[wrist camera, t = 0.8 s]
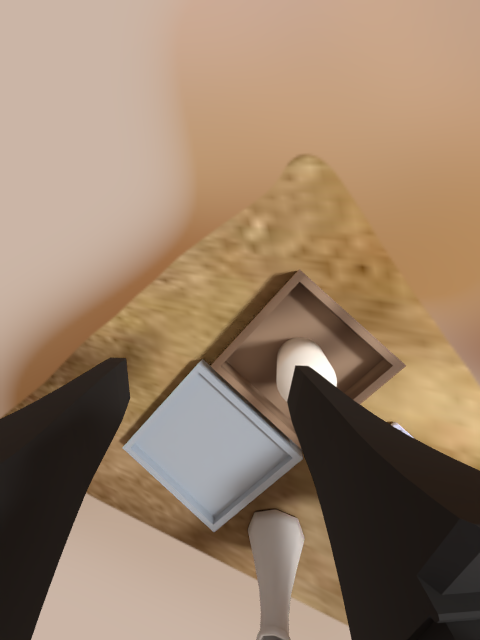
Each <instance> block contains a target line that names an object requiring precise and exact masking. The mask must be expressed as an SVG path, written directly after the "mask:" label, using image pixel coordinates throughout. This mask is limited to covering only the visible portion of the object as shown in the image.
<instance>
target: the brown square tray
mask: <svg viewBox="0 0 480 640" xmlns="http://www.w3.org/2000/svg"><path fill="white" fill-rule="evenodd" d="M296 337H304V338H308V339H310V340H312V341H314V342H315V343H316V344H317V345H318V346H319V347H320V348H321V350H322V352H323V353H324V355H325V356H326V358H327V360H328V361H329V363H330V365H331V366H332V368H333V370H334V371H335V374H336V378H337V386H336V387H337V388H338V389H339V390H341V391H342V392H343V393H345V394H346V395H347V396H349V397H350V398H351V399H353V400H354V401H355V402H357V403H358V404H361V403H362V402H363V401H365V400H366V399H367V398H368V397H369V396H371V395H372V394H373V393H374V392H375V391H377V390H378V389H379V388H380V387H381V386H383V385H384V384H385V383H386V382H387V381H389V380H390V379H391V378H392V377H393V376H395V375H396V374H397V373H398V372H399V371H401V370H402V369H403V368H404V367H405V366H406V365H405V364H404V363H403V362H402V361H400V360H399V359H398V358H397V357H396V356H395V355H394V354H393V353H392V352H390V351H389V350H388V349H387V348H386V347H385V346H384V345H383V344H382V343H380V342H379V341H378V340H377V339H376V338H375V337H374V336H373V335H372V334H370V333H369V332H368V331H367V330H366V329H365V328H364V327H363V326H362V325H361V324H359V323H358V322H357V321H356V320H355V319H354V318H353V317H352V316H351V315H349V314H348V313H347V312H346V311H345V310H344V309H343V308H342V307H341V306H339V305H338V304H337V303H336V302H335V301H334V300H333V299H332V298H331V297H329V296H328V295H327V294H326V293H325V292H324V291H323V290H322V289H321V288H320V287H318V286H317V285H316V284H315V283H314V282H313V281H312V280H311V279H310V278H308V277H307V276H306V275H305V274H304V273H303V272H302V271H301V270H298V271H297V272H296V273H295V274H294V275H293V276H292V277H291V278H290V279H289V280H288V282H287V283H286V284H285V285H284V286H283V287H282V288H281V289H280V290H279V291H278V292H277V293H276V295H275V296H274V297H273V298H272V299H271V300H270V301H269V302H268V303H267V304H266V305H265V307H264V308H263V309H262V310H261V311H260V312H259V313H258V314H257V315H256V316H255V317H254V318H253V320H252V321H251V322H250V323H249V324H248V325H247V326H246V327H245V328H244V329H243V330H242V331H241V333H240V334H239V335H238V336H237V337H236V338H235V339H234V340H233V341H232V342H231V343H230V345H229V346H228V347H227V348H226V349H225V350H224V351H223V352H222V353H221V354H220V355H219V356H218V358H217V359H216V360H215V361H214V362H213V364H212V365H211V367H212V368H213V369H214V370H215V371H216V372H217V373H218V374H219V375H221V376H222V377H223V378H224V379H225V380H226V381H227V382H228V383H229V384H230V385H231V386H233V387H234V388H235V389H236V390H237V391H238V392H239V393H240V394H241V395H242V396H244V397H245V398H246V399H247V400H248V401H249V402H250V403H251V404H252V405H253V406H254V407H256V408H257V409H258V410H259V411H260V412H261V413H262V414H263V415H264V416H265V417H266V418H268V419H269V420H270V421H271V422H272V423H273V424H274V425H275V426H276V427H277V428H279V429H280V430H281V431H282V432H283V433H284V434H285V435H286V436H287V437H288V438H289V439H291V440H292V441H293V442H294V443H295V444H296V445H297V446H298V447H299V448H300V449H301V446H300V443H299V441H298V438H297V435H296V433H295V430H294V427H293V424H292V421H291V417H290V412H289V408H288V403H287V402H286V401H285V400H284V399H283V397H282V396H281V395H280V393H279V391H278V388H277V382H276V380H277V354H278V351H279V349H280V347H281V346H282V345H283V344H284V343H285V342H286V341H288V340H290V339H292V338H296Z"/></svg>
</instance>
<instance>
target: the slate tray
mask: <svg viewBox="0 0 480 640" xmlns="http://www.w3.org/2000/svg"><path fill="white" fill-rule="evenodd" d="M122 448H123V449H124V450H125V451H126V452H128V453H129V454H130V455H131V456H132V457H133V458H134V459H135V460H136V461H137V462H138V463H139V464H141V465H142V466H143V467H144V468H145V469H146V470H147V471H148V472H149V473H150V474H151V475H152V476H154V477H155V478H156V479H157V480H158V481H159V482H160V483H161V484H162V485H163V486H164V487H165V488H167V489H168V490H169V491H170V492H171V493H172V494H173V495H174V496H175V497H176V498H177V499H178V500H180V501H181V502H182V503H183V504H184V505H185V506H186V507H187V508H188V509H189V510H190V511H191V512H193V513H194V514H195V515H196V516H197V517H198V518H199V519H200V520H201V521H202V522H203V523H204V524H206V525H207V526H208V527H209V528H210V529H211V530H212V531H213V532H215V531H216V530H217V529H219V528H220V527H221V526H222V525H223V524H225V523H226V522H227V521H228V520H229V519H231V518H232V517H233V516H234V515H236V514H237V513H238V512H239V511H240V510H242V509H243V508H244V507H245V506H246V505H248V504H249V503H250V502H251V501H252V500H254V499H255V498H256V497H257V496H259V495H260V494H261V493H262V492H263V491H265V490H266V489H267V488H268V487H269V486H271V485H272V484H273V483H274V482H275V481H277V480H278V479H279V478H280V477H282V476H283V475H284V474H285V473H286V472H288V471H289V470H290V469H291V468H292V467H294V466H295V465H296V464H297V463H298V462H300V461H301V460H302V459H303V455H302V449H300V448H299V447H298V446H297V445H296V444H295V443H294V442H293V441H292V440H291V439H289V438H288V437H287V436H286V435H285V434H284V433H283V432H282V431H281V430H280V429H279V428H277V427H276V426H275V425H274V424H273V423H272V422H271V421H270V420H269V419H268V418H266V417H265V416H264V415H263V414H262V413H261V412H260V411H259V410H258V409H257V408H256V407H254V406H253V405H252V404H251V403H250V402H249V401H248V400H247V399H246V398H245V397H244V396H242V395H241V394H240V393H239V392H238V391H237V390H236V389H235V388H234V387H233V386H231V385H230V384H229V383H228V382H227V381H226V380H225V379H224V378H223V377H222V376H221V375H219V374H218V373H217V372H216V371H215V370H214V369H213V368H212V367H211V366H210V365H209V364H208V363H206V362H205V361H204V360H203V359H202V360H201V361H200V362H199V363H198V364H197V365H196V366H195V368H194V369H193V370H192V371H191V372H190V373H189V374H188V375H187V376H186V378H185V379H184V380H183V381H182V382H181V383H180V384H179V385H178V386H177V388H176V389H175V390H174V391H173V392H172V393H171V394H170V395H169V396H168V398H167V399H166V400H165V401H164V402H163V403H162V404H161V405H160V406H159V408H158V409H157V410H156V411H155V412H154V413H153V414H152V415H151V416H150V418H149V419H148V420H147V421H146V422H145V423H144V424H143V425H142V426H141V428H140V429H139V430H138V431H137V432H136V433H135V434H134V435H133V436H132V438H131V439H130V440H129V441H128V442H127V443H126V444H125V445H124V446H123V447H122Z"/></svg>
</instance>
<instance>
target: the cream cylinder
mask: <svg viewBox="0 0 480 640" xmlns="http://www.w3.org/2000/svg"><path fill="white" fill-rule="evenodd" d="M295 365H299V366H309V367H311V368H312V369H314V370H315V371H316V372H318V373H319V374H320V375H322V376H323V377H324V378H325V379H327V380H328V381H329V382H330V383H332V384H333V385H334V386H337V378H336V374H335V371H334V370H333V368H332V366H331V365H330V363H329V361H328V360H327V358H326V356H325V355H324V353H323V352H322V350H321V348H320V347H319V346H318V345H317V344H316V343H315V342H314V341H312V340H310V339H308V338H304V337H296V338H292V339H290V340H288V341H286V342H285V343H284V344H283V345H282V346H281V347H280V349H279V351H278V354H277V380H276V382H277V388H278V391H279V393H280V395H281V396H282V397H283V399H284V400H285V401H286V402H287V400H288V396H289V391H290V387H291V382H292V378H293V373H294V369H295Z"/></svg>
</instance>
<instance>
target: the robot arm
mask: <svg viewBox="0 0 480 640" xmlns="http://www.w3.org/2000/svg"><path fill="white" fill-rule="evenodd" d="M129 400H130V392H129V382H128V372H127V362H126V358H109V359H107V360H105V361H104V362H102V363H100V364H99V365H97V366H95V367H94V368H92V369H90V370H89V371H87V372H86V373H84V374H82V375H81V376H79V377H77V378H76V379H74V380H72V381H71V382H69V383H67V384H66V385H64V386H62V387H60V388H59V389H57V390H55V391H53V392H52V393H50V394H48V395H46V396H44V397H43V398H41V399H39V400H37V401H35V402H34V403H32V404H30V405H28V406H26V407H24V408H22V409H20V410H18V411H16V412H14V413H12V414H10V415H8V416H6V417H4V418H2V419H0V640H31V638H32V635H33V632H34V629H35V626H36V623H37V620H38V618H39V615H40V611H41V609H42V606H43V603H44V601H45V598H46V595H47V592H48V589H49V586H50V584H51V581H52V578H53V576H54V573H55V570H56V567H57V565H58V562H59V559H60V557H61V554H62V552H63V549H64V546H65V544H66V541H67V539H68V536H69V534H70V531H71V528H72V526H73V523H74V521H75V518H76V516H77V513H78V511H79V508H80V506H81V504H82V501H83V498H84V496H85V494H86V491H87V489H88V487H89V485H90V483H91V481H92V478H93V476H94V475H95V473H96V471H97V469H98V467H99V465H100V463H101V461H102V459H103V457H104V455H105V453H106V451H107V449H108V447H109V445H110V443H111V442H112V440H113V438H114V436H115V434H116V432H117V430H118V428H119V426H120V424H121V422H122V419H123V417H124V414H125V411H126V408H127V406H128V403H129ZM287 403H288V408H289V412H290V417H291V421H292V424H293V427H294V430H295V433H296V435H297V438H298V441H299V443H300V446H301V449H302V451H303V454H304V457H305V459H306V462H307V464H308V467H309V470H310V472H311V475H312V478H313V481H314V484H315V487H316V491H317V494H318V498H319V502H320V505H321V509H322V512H323V516H324V520H325V524H326V528H327V532H328V536H329V540H330V544H331V548H332V552H333V556H334V560H335V565H336V569H337V573H338V578H339V582H340V586H341V591H342V596H343V600H344V605H345V610H346V615H347V619H348V624H349V629H350V634H351V639H352V640H480V471H479V470H477V469H475V468H472V467H470V466H468V465H466V464H464V463H462V462H460V461H457V460H455V459H453V458H451V457H449V456H447V455H445V454H443V453H441V452H439V451H437V450H435V449H433V448H431V447H429V446H427V445H425V444H424V443H422V442H420V441H418V440H416V439H415V438H413V437H412V436H411V435H410V434H409V433H408V432H407V431H406V430H405V429H404V428H402V427H401V426H400V425H399V424H398V423H392V424H391V425H390V424H388V423H387V422H385V421H384V420H382V419H380V418H379V417H377V416H376V415H374V414H373V413H371V412H370V411H368V410H367V409H365V408H364V407H363V406H361V405H360V404H358V403H357V402H355V401H354V400H353V399H351V398H350V397H349V396H347V395H346V394H345V393H343V392H342V391H341V390H339V389H338V388H337V387H336V386H334V385H333V384H332V383H330V382H329V381H328V380H327V379H325V378H324V377H323V376H322V375H320V374H319V373H318V372H316V371H315V370H314V369H312V368H311V367H309V366H299V365H295V369H294V373H293V378H292V382H291V387H290V391H289V396H288V400H287ZM400 430H401V431H400Z"/></svg>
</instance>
